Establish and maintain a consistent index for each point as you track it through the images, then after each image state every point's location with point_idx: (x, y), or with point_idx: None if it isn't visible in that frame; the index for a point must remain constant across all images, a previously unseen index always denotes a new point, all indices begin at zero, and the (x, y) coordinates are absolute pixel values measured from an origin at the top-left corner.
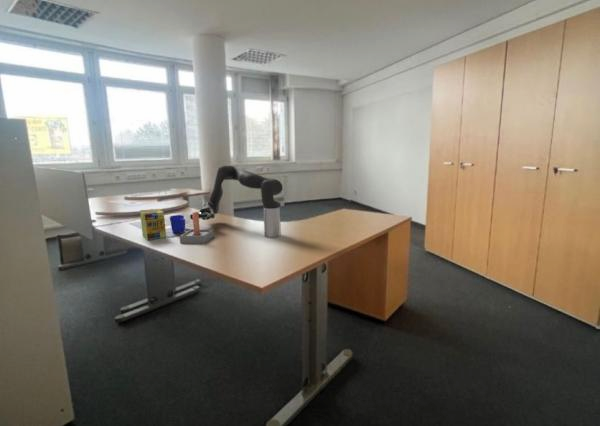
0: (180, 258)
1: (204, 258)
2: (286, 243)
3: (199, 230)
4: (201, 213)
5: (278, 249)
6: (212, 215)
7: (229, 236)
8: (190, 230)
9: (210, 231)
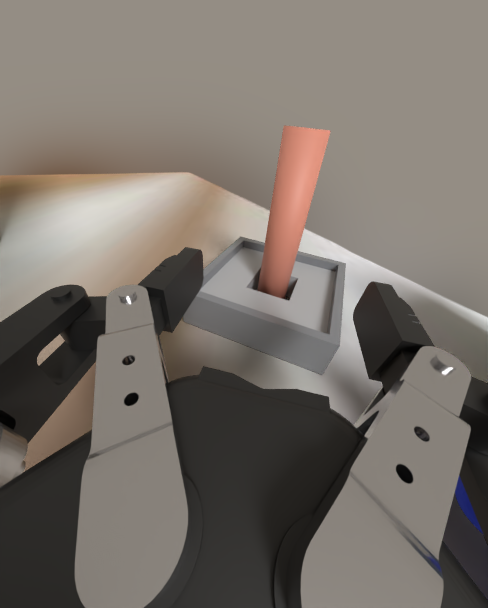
0: None
1: (240, 209)
2: (22, 205)
3: (262, 259)
4: (314, 518)
5: (82, 197)
6: (88, 299)
7: None
8: (330, 325)
9: (204, 271)
